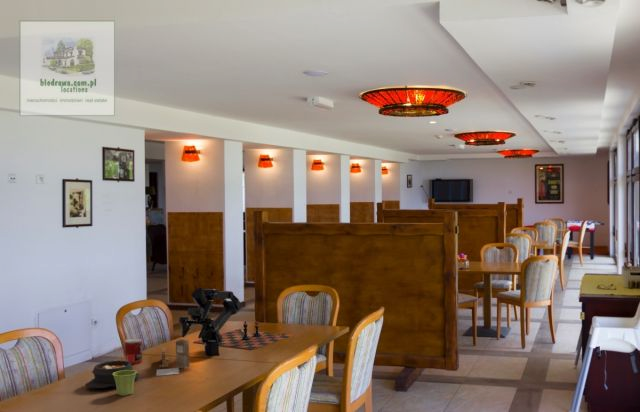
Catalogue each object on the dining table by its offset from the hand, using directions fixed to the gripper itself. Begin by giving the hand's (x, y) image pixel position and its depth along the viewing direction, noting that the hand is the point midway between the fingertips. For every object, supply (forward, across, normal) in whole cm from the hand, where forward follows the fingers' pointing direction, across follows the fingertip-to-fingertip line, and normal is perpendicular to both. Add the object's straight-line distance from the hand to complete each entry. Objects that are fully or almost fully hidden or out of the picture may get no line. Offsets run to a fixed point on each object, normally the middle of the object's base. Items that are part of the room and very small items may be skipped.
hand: (190, 337), depth 324 cm
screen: (+12, -13, +6) cm, 18 cm away
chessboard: (-30, -2, +49) cm, 57 cm away
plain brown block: (+14, 0, +4) cm, 14 cm away
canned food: (+14, -29, +4) cm, 32 cm away
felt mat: (+21, -2, -3) cm, 21 cm away
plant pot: (+45, +2, -26) cm, 52 cm away
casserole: (+37, -13, -19) cm, 44 cm away
